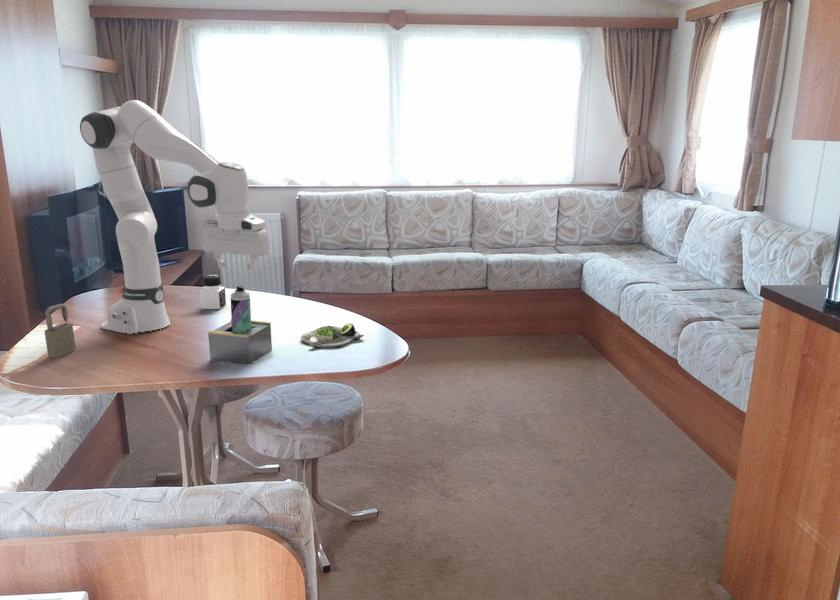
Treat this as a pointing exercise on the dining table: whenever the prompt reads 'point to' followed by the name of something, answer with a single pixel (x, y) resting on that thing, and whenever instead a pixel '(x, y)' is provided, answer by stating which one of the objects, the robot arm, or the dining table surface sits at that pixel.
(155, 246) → the robot arm
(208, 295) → the medicine bottle
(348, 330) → the salad plate
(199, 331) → the dining table surface
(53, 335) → the padlock
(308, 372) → the dining table surface
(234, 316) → the spray can
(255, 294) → the dining table surface
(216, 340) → the socket block
